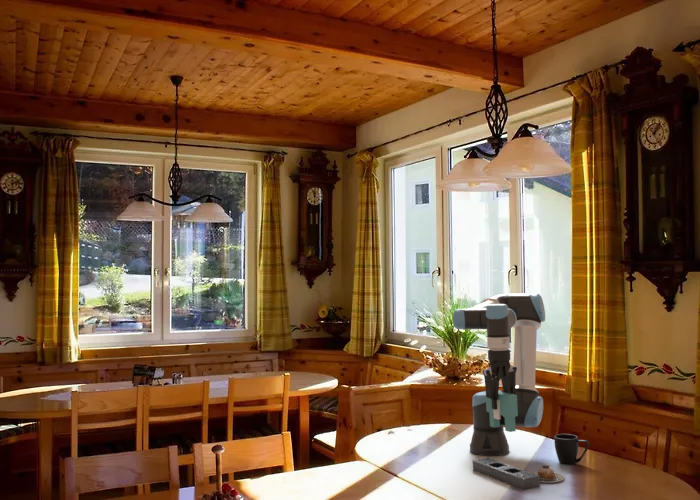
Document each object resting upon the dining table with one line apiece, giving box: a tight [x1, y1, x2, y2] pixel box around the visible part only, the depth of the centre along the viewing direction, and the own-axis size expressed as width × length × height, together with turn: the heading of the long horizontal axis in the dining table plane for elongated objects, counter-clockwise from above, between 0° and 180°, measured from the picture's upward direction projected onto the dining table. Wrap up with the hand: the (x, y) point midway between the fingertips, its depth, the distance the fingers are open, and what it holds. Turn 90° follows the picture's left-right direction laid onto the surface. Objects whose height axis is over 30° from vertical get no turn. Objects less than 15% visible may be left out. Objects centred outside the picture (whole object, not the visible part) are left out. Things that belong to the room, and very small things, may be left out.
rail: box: [472, 457, 541, 491], centre depth 221 cm, size 26×7×4 cm, turn 27°
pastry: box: [532, 464, 565, 484], centre depth 219 cm, size 12×12×5 cm
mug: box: [553, 433, 590, 466], centre depth 235 cm, size 8×12×10 cm
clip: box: [486, 390, 518, 433], centre depth 222 cm, size 12×4×12 cm, turn 27°
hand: (502, 417), depth 222 cm, fingers closed on clip, 3 cm apart
